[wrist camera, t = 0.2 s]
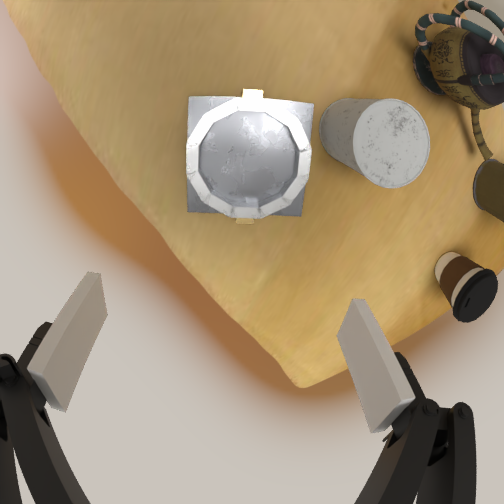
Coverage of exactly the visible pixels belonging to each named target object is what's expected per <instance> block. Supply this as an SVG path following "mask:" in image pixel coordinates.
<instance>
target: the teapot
mask: <svg viewBox="0 0 504 504" xmlns="http://www.w3.org/2000/svg"><path fill="white" fill-rule="evenodd" d="M468 9H470V10H475V11H477V12H479V13H481V14H483V15H484V16H486V17H487V18H489V19H490V20H491V21H492V22H493V23H494V24H495V25H496V26H497V27H498V28H499V29H500V31H501V32H502V33H503V35H504V22H503V21H502V20H501V19H500V18H499V17H498V16H497V15H496V14H495V13H494V12H492V11H491V10H489V9H487V8H486V7H484V6H482V5H480V4H477V3H475V2H473V1H466V0H464V1H462V2H460V3H458V4H457V5H456V6H455V8H454V9H453V10H452V12H451V15H445V14H439V13H434V14H425V15H424V16H422V17H421V18H419V20H418V22H417V24H416V26H415V36H416V38H417V40H418V43H419V45H418V46H417V47H416V49H415V51H414V54H413V66H414V71H415V73H416V75H417V78H418V80H419V81H420V82H421V84H422V85H423V86H424V87H425V88H426V89H427V90H428V91H429V92H431V93H434V94H436V95H445V94H447V95H448V96H449V97H450V98H451V99H452V100H454V101H456V102H457V103H459V104H461V105H463V106H466V107H468V108H470V109H471V116H472V126H473V133H474V136H475V139H476V142H477V145H478V147H479V149H480V151H481V153H482V155H483V157H484V159H485V161H487V160H488V159H489V158H490V157H491V156H492V155H493V154H492V152H491V151H490V150H489V148H488V147H487V145H486V143H485V141H484V138H483V135H482V131H481V128H480V124H479V112H480V109H483V110H485V109H489V108H491V107H494V106H496V105H499V104H501V103H503V102H504V43H503V42H502V41H501V40H500V39H499V38H498V37H496V36H495V35H493V34H492V33H491V32H489V31H488V30H486V29H484V28H482V27H480V26H478V25H476V24H475V23H472V22H471V21H468V20H465V19H462V18H460V15H461V14H462V13H463V12H464V11H466V10H468ZM433 23H442V24H447V25H450V28H447V29H445V30H443V31H441V32H440V33H439V34H438V35H437V36H436V37H435V39H434V41H433V42H429V41H428V42H427V39H426V37H425V30H426V28H427V27H428V26H429V25H431V24H433Z"/></svg>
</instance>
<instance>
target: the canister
mask: <svg viewBox="0 0 504 504" xmlns="http://www.w3.org/2000/svg"><path fill="white" fill-rule="evenodd" d="M473 195H474V199H475V202H476V204H477V205H478V207H479V208H480V209H482V210H486V211H487V212H489V213H490V214H492V215H493V216H495V217H496V218H498V219H500V220H501V221H503V222H504V164H502V163H500V162H498V161H497V160H495V159H488V160H487V161H485V162H483V163H482V165H481V166H480V167H479V169H478V171H477V173H476V176H475V180H474V184H473Z"/></svg>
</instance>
